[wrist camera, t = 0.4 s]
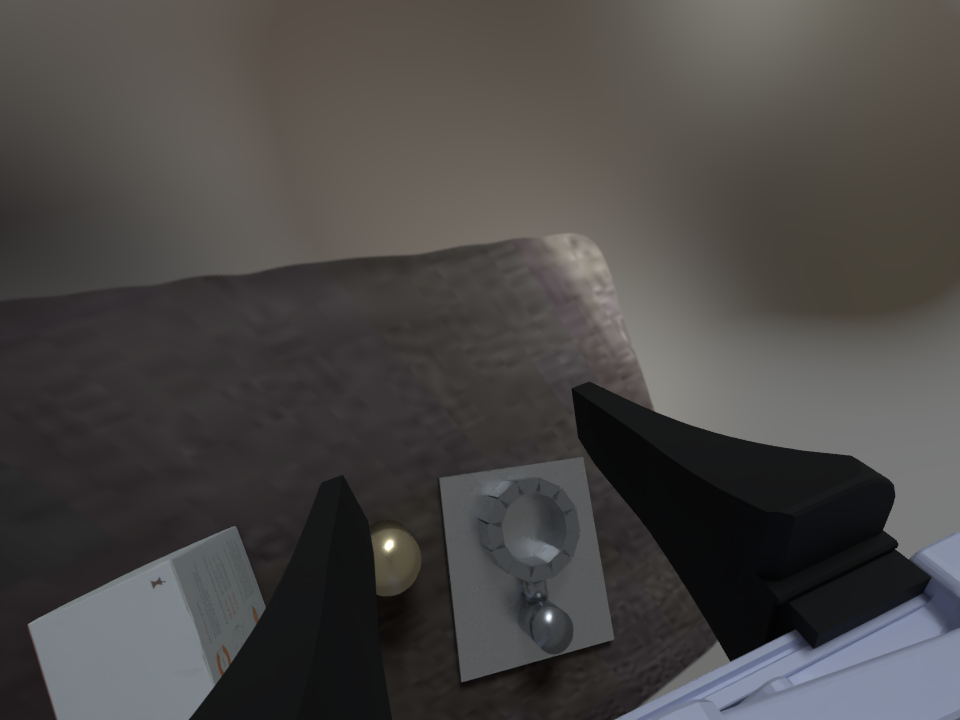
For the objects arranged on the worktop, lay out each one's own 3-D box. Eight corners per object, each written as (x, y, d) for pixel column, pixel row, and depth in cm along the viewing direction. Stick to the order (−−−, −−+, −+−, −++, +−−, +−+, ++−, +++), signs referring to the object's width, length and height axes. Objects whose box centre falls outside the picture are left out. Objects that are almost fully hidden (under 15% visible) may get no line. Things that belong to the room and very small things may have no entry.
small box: (146, 563, 33) (21, 622, 21) (237, 523, 35) (172, 555, 23) (182, 671, 32) (74, 799, 20) (273, 624, 34) (226, 713, 22)
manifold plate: (609, 636, 41) (640, 657, 36) (459, 677, 37) (473, 707, 32) (579, 457, 44) (604, 456, 39) (437, 477, 40) (447, 479, 35)
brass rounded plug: (414, 570, 38) (424, 589, 32) (360, 581, 36) (360, 602, 31) (409, 515, 38) (418, 524, 33) (356, 524, 37) (355, 535, 32)
